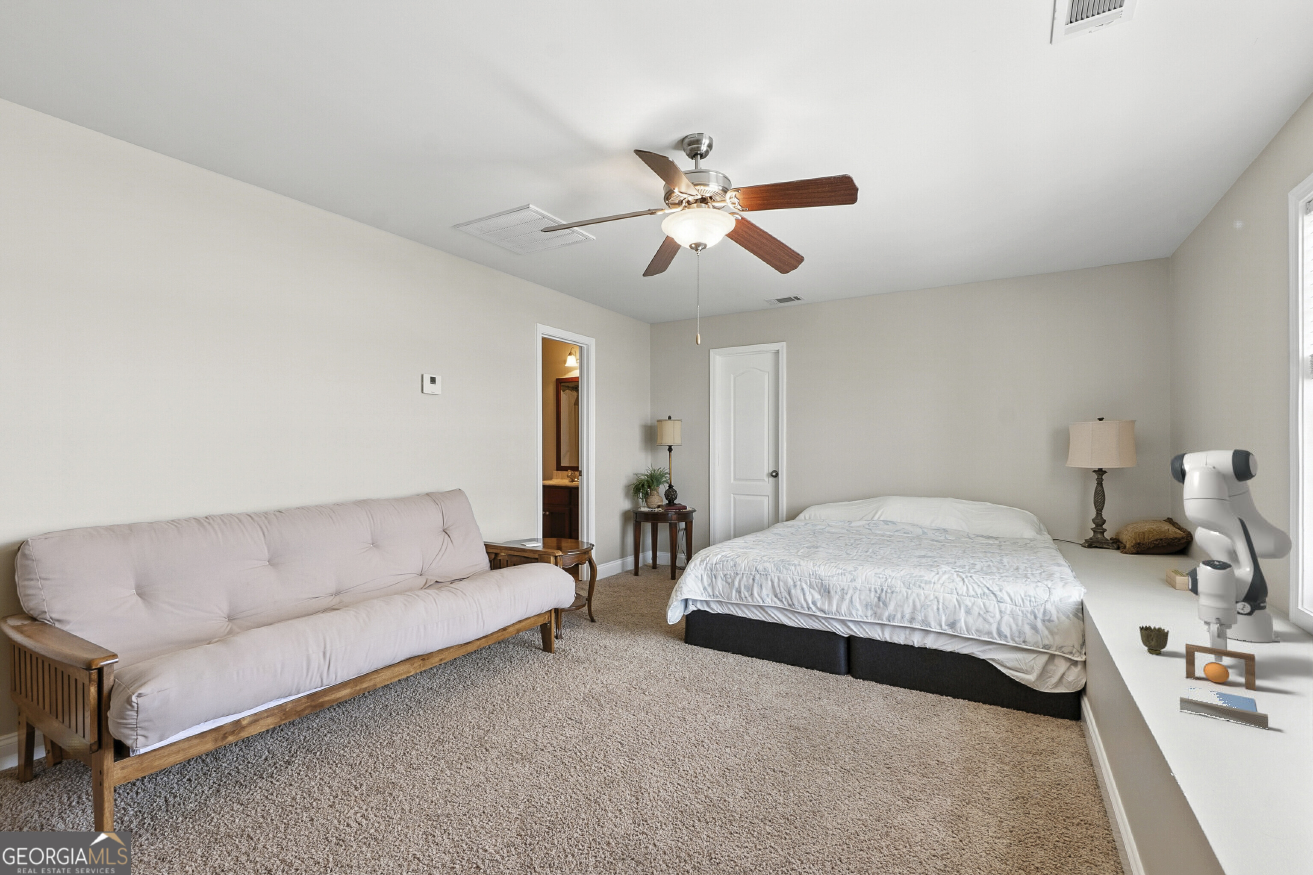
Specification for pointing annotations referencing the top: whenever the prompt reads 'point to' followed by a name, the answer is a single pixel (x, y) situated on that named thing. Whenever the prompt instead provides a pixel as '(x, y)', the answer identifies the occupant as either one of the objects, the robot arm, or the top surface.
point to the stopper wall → (1225, 712)
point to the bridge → (1249, 658)
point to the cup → (1154, 639)
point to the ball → (1216, 672)
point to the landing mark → (1236, 701)
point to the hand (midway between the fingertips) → (1218, 660)
